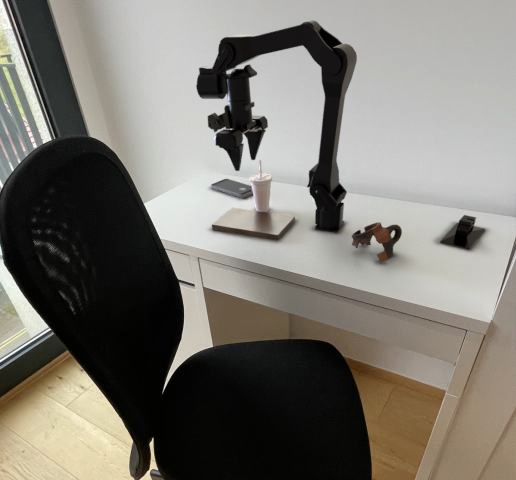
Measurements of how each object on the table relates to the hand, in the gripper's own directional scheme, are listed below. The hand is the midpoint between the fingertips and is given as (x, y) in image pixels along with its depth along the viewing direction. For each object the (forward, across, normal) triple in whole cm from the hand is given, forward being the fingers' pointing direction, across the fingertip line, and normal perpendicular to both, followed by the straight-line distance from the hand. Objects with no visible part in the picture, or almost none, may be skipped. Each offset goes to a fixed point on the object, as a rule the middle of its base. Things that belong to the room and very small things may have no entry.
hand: (245, 165), depth 110 cm
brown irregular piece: (+15, +10, +39) cm, 43 cm away
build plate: (+15, -5, +57) cm, 59 cm away
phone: (+14, -15, -14) cm, 25 cm away
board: (+14, +6, +4) cm, 16 cm away
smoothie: (+14, -4, +2) cm, 15 cm away
